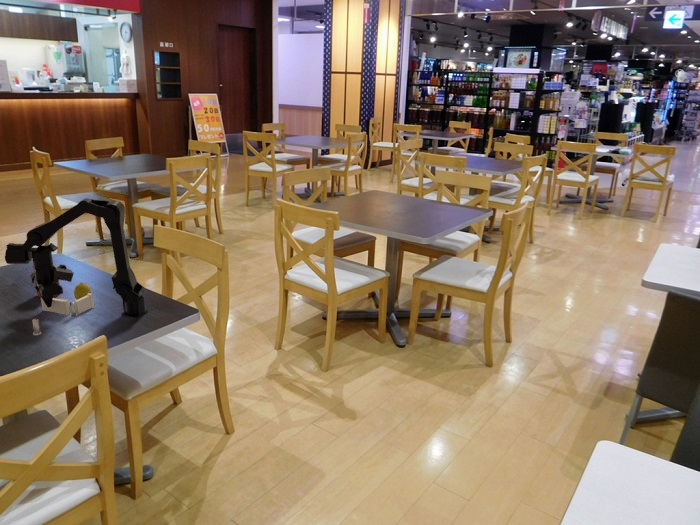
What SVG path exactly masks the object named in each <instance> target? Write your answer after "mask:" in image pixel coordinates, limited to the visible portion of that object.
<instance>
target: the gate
mask: <svg viewBox="0 0 700 525" xmlns="http://www.w3.org/2000/svg"><path fill="white" fill-rule="evenodd" d="M40 302H41V309H42V311H45V312H52V313H58V314H63V315H66V316H67V315H71V311H70V302H69V299H67V300H61V299H59V298H56V297H54V298H53V299H52V305H51V307H47V306H46V304H45V303H44V301H43V299H42V298H40Z"/></svg>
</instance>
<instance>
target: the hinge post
mask: <svg viewBox="0 0 700 525" xmlns="http://www.w3.org/2000/svg"><path fill="white" fill-rule="evenodd" d="M69 307H70V316H71V318H76V317H77V313H76V308H75V302H74V301H71V302H69Z"/></svg>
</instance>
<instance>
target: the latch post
mask: <svg viewBox="0 0 700 525" xmlns="http://www.w3.org/2000/svg"><path fill="white" fill-rule="evenodd" d="M32 327H33V332H32V335H33V336H36V337H37V336H40V335H42V334H43V333H42V331H41V329H40V322H39V319H38V318H33V319H32Z"/></svg>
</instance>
